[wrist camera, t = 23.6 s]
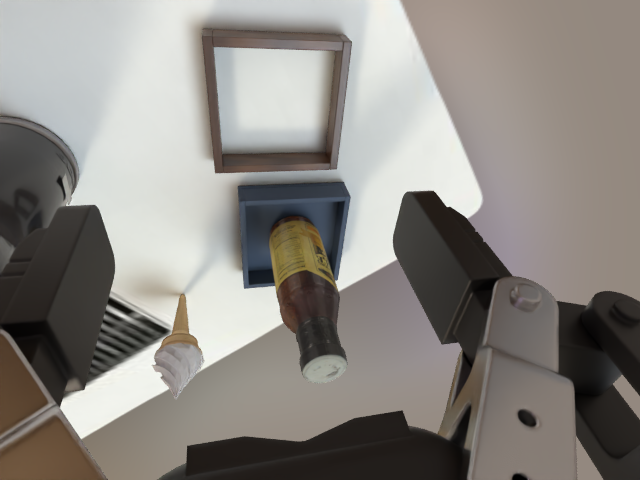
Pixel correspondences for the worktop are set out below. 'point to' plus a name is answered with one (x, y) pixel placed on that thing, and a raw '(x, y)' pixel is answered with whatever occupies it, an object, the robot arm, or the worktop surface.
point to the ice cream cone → (179, 353)
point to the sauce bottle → (307, 296)
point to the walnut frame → (278, 41)
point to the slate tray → (283, 201)
